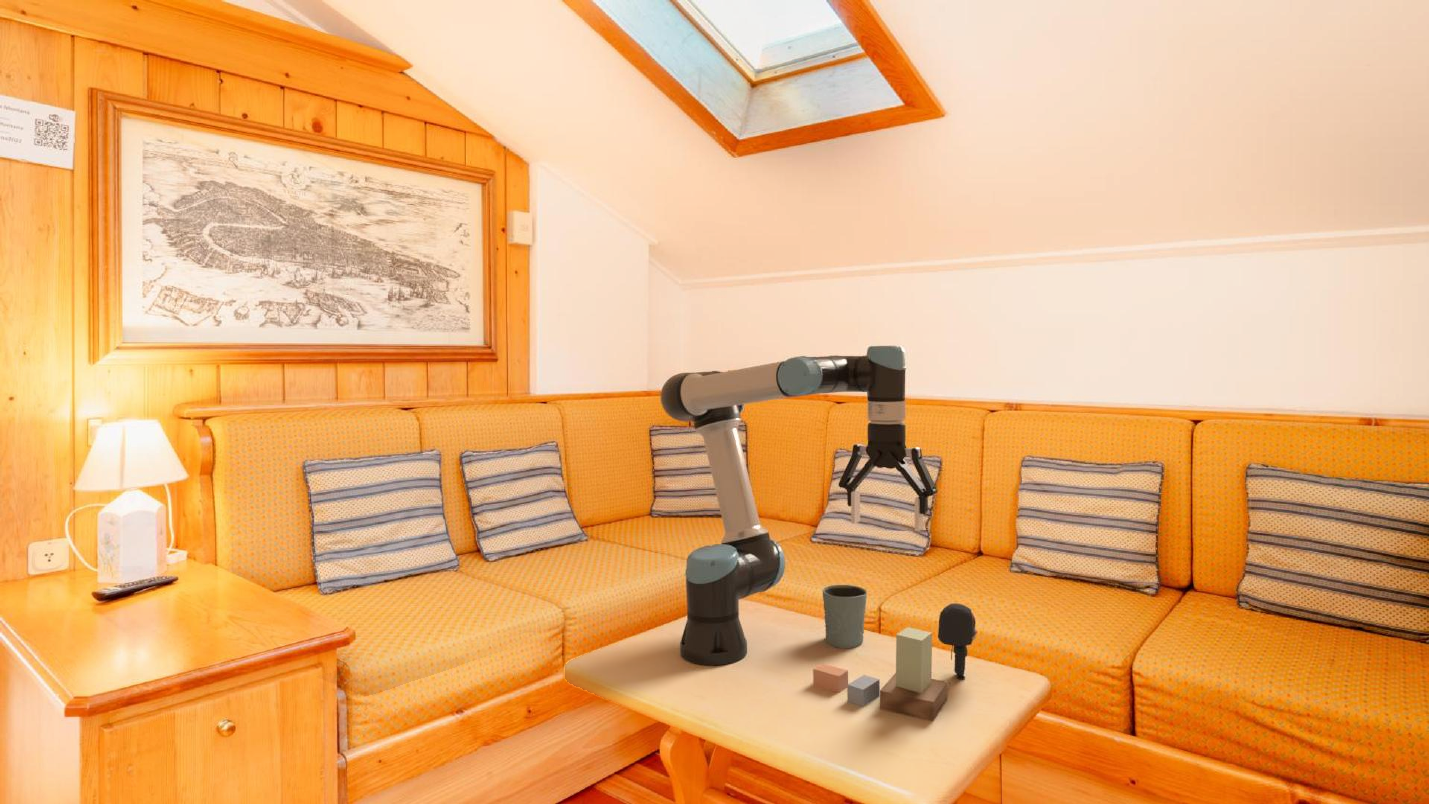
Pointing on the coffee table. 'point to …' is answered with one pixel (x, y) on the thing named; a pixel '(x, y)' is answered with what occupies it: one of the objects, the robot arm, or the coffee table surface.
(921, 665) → the brick sage
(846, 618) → the grey green cup
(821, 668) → the brick terracotta
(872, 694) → the brick slate
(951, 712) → the coffee table surface
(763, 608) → the coffee table surface
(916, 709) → the brick walnut
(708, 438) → the robot arm
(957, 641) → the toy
